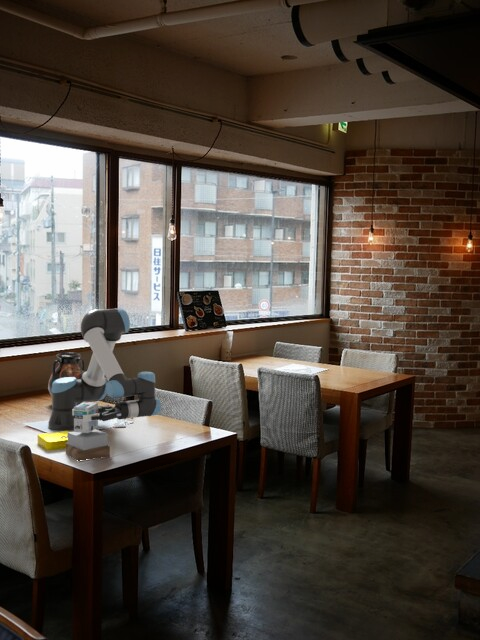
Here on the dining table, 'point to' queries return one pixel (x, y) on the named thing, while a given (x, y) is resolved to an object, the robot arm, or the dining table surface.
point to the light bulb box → (79, 411)
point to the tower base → (87, 452)
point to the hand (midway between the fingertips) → (77, 415)
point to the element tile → (53, 440)
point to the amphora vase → (66, 368)
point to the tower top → (88, 439)
